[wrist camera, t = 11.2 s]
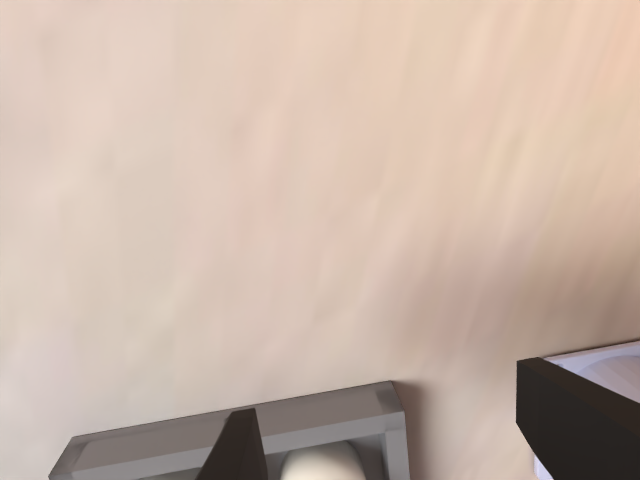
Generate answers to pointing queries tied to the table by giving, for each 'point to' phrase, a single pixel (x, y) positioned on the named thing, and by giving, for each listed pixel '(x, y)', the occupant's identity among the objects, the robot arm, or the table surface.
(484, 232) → the table surface
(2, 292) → the table surface
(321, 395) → the egg tray
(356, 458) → the cream egg
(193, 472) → the cream egg
